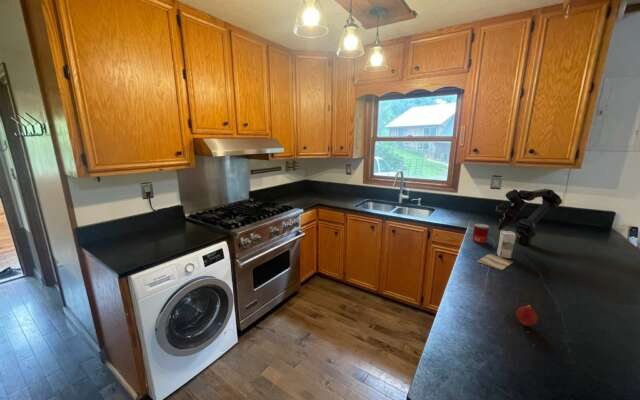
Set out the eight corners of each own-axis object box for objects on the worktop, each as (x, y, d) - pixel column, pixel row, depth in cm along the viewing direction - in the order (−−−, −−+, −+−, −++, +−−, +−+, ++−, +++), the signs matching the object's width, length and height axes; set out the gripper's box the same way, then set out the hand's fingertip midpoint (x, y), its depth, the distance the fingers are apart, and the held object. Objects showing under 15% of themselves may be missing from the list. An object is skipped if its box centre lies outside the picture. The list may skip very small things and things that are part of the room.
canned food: (488, 244, 165) (491, 227, 163) (474, 243, 167) (477, 226, 164) (483, 239, 172) (486, 224, 170) (470, 238, 174) (472, 223, 171)
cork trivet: (488, 254, 150) (489, 253, 150) (513, 262, 140) (513, 261, 140) (476, 261, 140) (476, 261, 140) (501, 270, 131) (501, 269, 131)
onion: (510, 319, 95) (514, 300, 93) (525, 319, 95) (529, 299, 93) (523, 331, 89) (528, 310, 87) (539, 330, 90) (544, 310, 88)
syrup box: (507, 254, 150) (512, 231, 146) (511, 259, 144) (516, 234, 141) (496, 253, 151) (500, 229, 148) (499, 257, 146) (503, 233, 143)
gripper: (499, 205, 170) (484, 224, 170) (505, 195, 154) (489, 216, 154) (517, 214, 164) (502, 234, 164) (525, 205, 148) (508, 227, 148)
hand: (500, 227), depth 158 cm, fingers open, 9 cm apart
